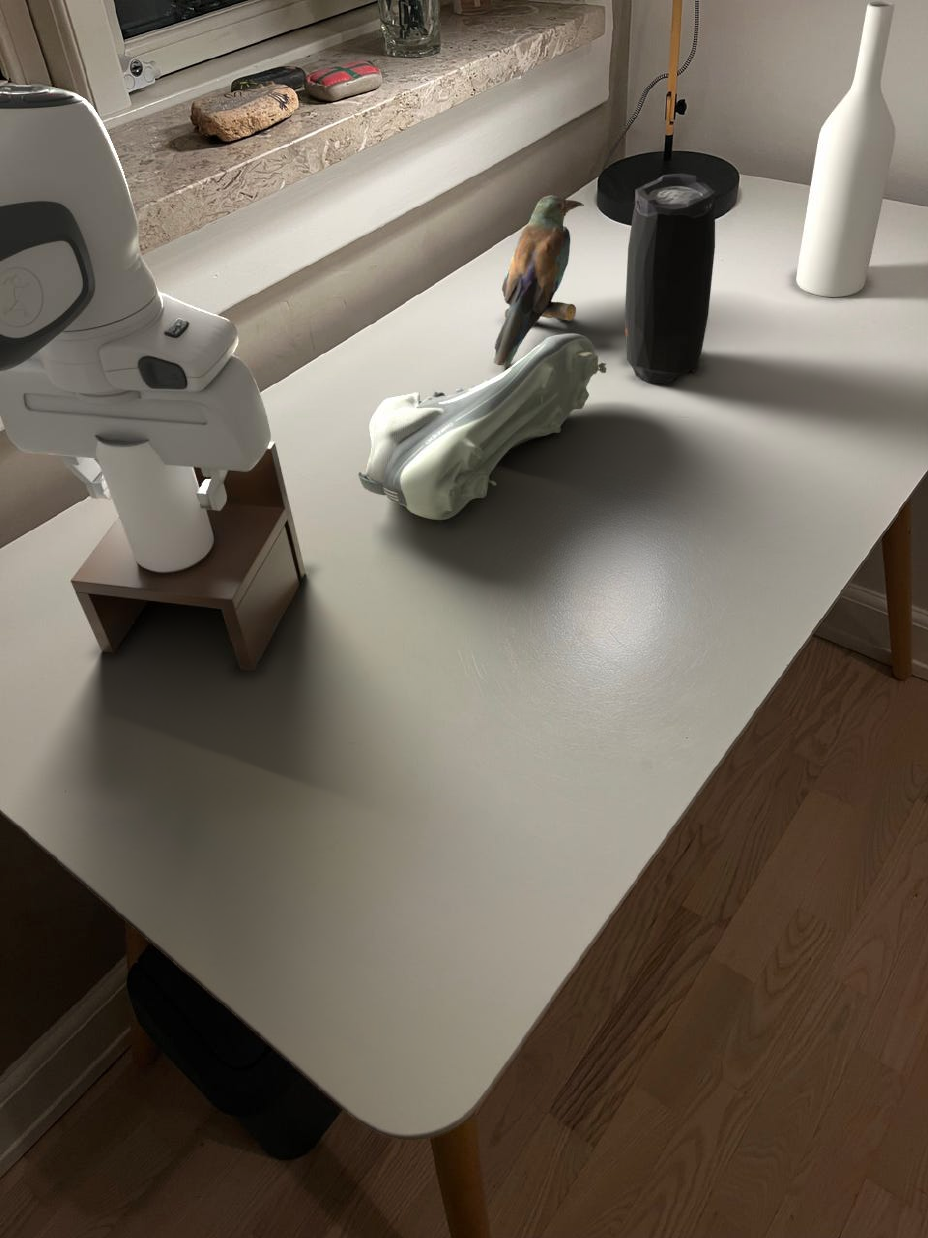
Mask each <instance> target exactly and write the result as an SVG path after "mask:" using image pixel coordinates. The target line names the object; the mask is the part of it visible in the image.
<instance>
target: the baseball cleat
mask: <svg viewBox="0 0 928 1238" xmlns="http://www.w3.org/2000/svg"><path fill="white" fill-rule="evenodd" d="M595 351H596V350H595V346H594V344H593V343H592V342H591V340H590V339H589V338H587V336H585V335H582V334H579V333H561V334H556V335H551V336H549V337H546V338H545V339H544V340H543V341H541V342H540V343H539V344H538V345H537V346H536V347H534V348H533V349H532V350H531V351H529V352H528V353H527V354H525V356H523V357H522V358H520V359H519V360H518V361H516V362H515V363H514V364H512V366H510V367H509V368H507V369H506V370H505V371H503V372H501V373H500V374H498V375H497V376H495V377H492V378H488V379H485V380H484V382H482V383H480V384H474V385H471V386H470V388H467V389H463V388H462V387H461V388H456V390H455V391H456V392H453V393H452V394H449V395H446V394H445V393H444V392H443V391H437V390H436V391H434V392H433V393H434V394H432V395H429V396H428V397H426V398H425V399H423V400H421V396H420V393H419V392H412V393H409V394H404V395H398V396H395V397H388V398H386V399H384V400H383V401H382V402H381V404H379V406H378V407H377V409H376V411H375V412H374V414H373V415H372V418H371V419H370V422H369V436H370V441H371V442H370V443H371V449H370V455H369V458H368V462H367V466H366V471H365V474H363V473H362V472H361V471H359V472H358V474H357V477H358V478H359V481H360V483H361V486H362V488H364V490H367V491H368V492H371V493H373V494H376V495H380V496H385V497H387V499H389V500H390V501H391V502H394V503H396V504H398V505H400V506H404V507H405V508H406V509H407V511H408V512H410V513H412V514H414V515H416V516H417V517H421V518H424V519H429V520H434V521H435V520H436V521H444V520H448V519H451V518H452V517H455V516H456V515H458V513H460V512H461V510H462V509H463V508H465V507H466V505H467V504H468V503H469V502H470V501H471V500H473V499H481V498H483V499H484V498H485V497H486V496H487V492H488V486H489V483H490V485H492V486H497V482H496V481H494V480H490V475H491V474H492V472H493V470H494V469H495V468H496V466H497V465H498V463H500V461H501V459H502V458H503V457H504V456H505V455H506V453H508V452H509V450H510V449H512V448H514V447H517V446H519V445H521V444H524V443H525V442H528V441H531V440H533V439H537V438H540V437H544V436H548V435H551V434H558V433H560V432H561V430H562V428H561V426H562V425H563V424H564V422H565V421H566V420H567V419H568V417H569V415H570V414H571V413H572V411H574V410H581V409H583V408H584V406H585V403H586V402H587V400H588V399H589V397H590V393H589V392H588V390H587V387H588V385H589V382H590V380H591V378H592V377H593V376H594V375H596V374H598V372H600V373H602V374H606V372H607V367H606V366H607V363H606V362H600V363H599V355H598V354H596V352H595Z"/></svg>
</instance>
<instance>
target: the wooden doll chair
mask: <svg viewBox="0 0 928 1238" xmlns="http://www.w3.org/2000/svg"><path fill="white" fill-rule="evenodd" d="M193 469H194V472H195V476H196V479H197V482H198V485H199V488H200V487H202V484H203V482H204V481H205V479H208V480H210V479H211V476H210V477H205V476H203V473H202V470H201V468H198V467H193ZM223 484H224V487H225V491H226V495H227V501H226V503H225V505H224V506H223V508H222V509H221V510H220V511H216V510H207V509H206V512H207V515H208V518H209V522H210V525H211V529H212V532H213V537H214V542H213V545H212V548H211V549H210V551H209V553H208V554H207V555H206V557H205V558H204V559H203V560H201V561H200V562H199V563H197V564H196V565H194V566H192V567H190V568H188V569H185V570H182V571H178V572H173V573H158V572H153V571H150V570H148V569H146V568H144V567H142V566H141V565H140V564H139V563H138V562H137V561H136V559H135V557H134V554H133V552H132V549H131V547H130V544H129V542H128V539H127V536H126V534H125V531H124V529H123V526H122V523H121V521H120V518H119V516H118V517H117V518H116V520H115V521H114V522H113V524H112V525H111V527H110V528H109V529H108V530H107V532H106V533H105V534H104V535H103V537H102V538H101V539H100V541H99V542H98V543H97V545H96V546H95V548H94V549H93V550H92V551H91V553H90V554H89V555H88V557H87V558H86V559H85V560H84V562H83V563H82V565H81V566H80V568H79V569H78V570H77V571H76V573H75V574H74V575H73V577H71V579H70V584H71V586H72V588H73V591H74V592H75V596H76V597H77V600H78V601H79V604H80V606H81V608H82V610H83V613H84V615H85V617H86V619H87V621H88V624H89V626H90V629H91V630H92V633H93V635H94V638H95V640H96V643H97V644H98V646H99V649H100V651H101V652H107V653H115V652H116V650H117V648H118V647H119V646H120V644H121V642H122V641H123V640H124V638H125V637H126V635H127V633H128V632H129V630H130V629H131V628H132V626H133V625H134V623H135V622H136V621H137V618H138V617H139V615H140V614H141V612H142V611H143V610H144V608H145V606H146V605H147V603H148V602H149V601H152V602H160V603H166V604H175V605H185V606H192V607H201V608H209V609H217V610H221V613H222V616H223V619H224V622H225V625H226V628H227V632H228V634H229V638H230V641H231V644H232V646H233V647H232V648H233V650H234V653H235V656H236V659H237V663H238V666H239V669H240V670H243V671H249V672H254V671H255V670H256V668H257V666H258V664H259V663H260V660H261V659H262V656H263V654H264V653H265V650H266V649H267V647H268V645H269V643H270V641H271V639H272V637H273V635H274V633H275V632H276V629H278V626H279V624H280V622H281V620H282V619H283V617H284V614H285V612H286V611H287V609H288V606H289V605H290V603H291V601H292V599H293V597H294V595H295V593H296V591H297V590H298V588H299V586H300V583H299V580H302V579H303V578H304V576H305V574H306V568H305V565H304V560H303V557H302V556H303V555H302V551H301V547H300V543H299V538H298V533H297V530H296V526H295V521H294V516H293V513H292V509H291V505H290V504H291V503H290V500H289V495H288V492H287V487H286V484H285V479H284V474H283V470H282V465H281V462H280V457H279V454H278V449H277V444H276V442H275V441H270V443H269V446H268V448H267V449H266V451H265V453H264V455H263V456H262V457H261V459H260V460H259V461H258V463H257V464H256V465H255V466H254V467H253V468H252V469H251V470H250V471H247V472H242V471H232V470H228V472H227V475H226V477H225V480H224V482H223Z"/></svg>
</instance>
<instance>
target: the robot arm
mask: <svg viewBox="0 0 928 1238" xmlns="http://www.w3.org/2000/svg"><path fill="white" fill-rule="evenodd" d="M129 189H130V188H129V186H128V183H127V180H126V178H125V175H124V171H123V169H122V165H121V163H120V160H119V157H118V155H117V152H116V150H115V148H114V145H113V143H112V141H111V138H110V136H109V134H108V131H107V130H106V128H105V126H104V124H103V122H102V120H101V118H100V116H99V115H98V113H97V112H96V110H95V109H94V107H93V106H92V105H91V103H89V102H88V100H87V99H85V98H84V97H82V96H80V95H79V94H78V93H76V92H73V91H72V90H71V91H70V90H67V89H63V88H56V87H52V86H45V85H34V84H30V85H17V84H13V85H10V84H9V85H0V419H1V422H2V426H3V428H4V431H5V433H6V436H7V438H8V440H9V441H10V442H11V443H12V444H13V445H15V447H17V449H19V450H20V451H22V452H23V453H28V454H41V455H51V456H59V457H60V460H61V462H62V464H63V465H64V466H65V467H66V468H67V469H68V470H69V471H70V472H71V473H73V474H74V476H76V477H77V478H78V480H80V481H81V482H82V483H84V484H85V487H86V490H87V492H88V495H89V497H90V498H91V499H92V500H93V499H95V500H104V501H105V500H106V501H109V500H112V497H111V494H110V492H109V489H108V486H107V484H106V481H105V478H104V476H103V473H102V470H101V468H100V465H99V462H98V461H97V460H98V459H97V456H96V447H97V443H98V440H97V439H96V437H95V435H97V436H98V438H99V439H100V440H115V441H116V439H118V440H121V441H127V442H142V441H145V440H147V439H148V440H149V445H150V446H151V447H152V449H153V450H154V451H155V452H156V453H157V454H158V455H159V457H160V458H161V460H162V461H163V462H164V464H166V465H176V466H187V467H198V468H201V470H202V473H203V476H205V477H210V476H211V479H210V480H208V479H205V481H204V482H203V484H202V487H200V488H199V489H198V491H197V492H196V495H197V498H198V500H199V501H200V502H201V503H200V507H201V509H207V510H216V511H220V510H221V509H222V508H223V506H224V505H225V503H226V501H227V495H226V491H225V487H224V484H223V482H224V480H225V477H226V475H227V472H228V470H232V471H242V472H247V471H250V470H251V469H252V468H253V467H254V466H255V465H256V464H257V463H258V461H259V460H260V459H261V457H262V456H263V455H264V453H265V451H266V449H267V448H268V446H269V443H270V442H271V439H272V431H271V426H270V423H269V419H268V414H267V411H266V407H265V404H264V401H263V398H262V395H261V392H260V389H259V387H258V384H257V380H256V379H255V377H254V374H253V372H252V371H251V369H250V368H249V366H248V365H247V364H246V363H245V362H244V361H243V360H242V359H241V358H240V357H239V356H237V355H235V354H234V353H235V351H236V349H237V347H238V345H239V334H238V330H237V327H236V326H235V324H234V323H233V322H232V321H230V320H229V319H228V318H225V317H222V316H220V315H217V314H215V313H211V312H209V311H206V310H203V309H200V308H197V307H195V306H193V305H190V304H188V303H185V302H182V301H180V300H178V299H175V298H173V297H172V296H169V295H168V294H166V293H162V292H160V291H159V289H158V285H157V281H156V279H155V277H154V275H153V273H152V271H151V269H150V268H149V267H148V265H147V264H146V262H145V260H144V258H143V255H142V252H141V248H140V238H139V237H140V234H139V232H140V228H139V221H138V217H137V213H136V210H135V206H134V203H133V200H132V196H131V192H130V190H129ZM95 459H97V460H95Z"/></svg>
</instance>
